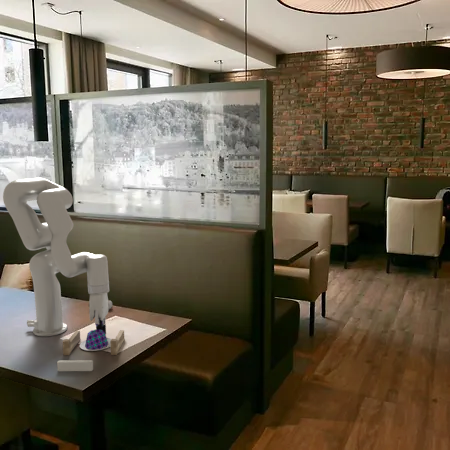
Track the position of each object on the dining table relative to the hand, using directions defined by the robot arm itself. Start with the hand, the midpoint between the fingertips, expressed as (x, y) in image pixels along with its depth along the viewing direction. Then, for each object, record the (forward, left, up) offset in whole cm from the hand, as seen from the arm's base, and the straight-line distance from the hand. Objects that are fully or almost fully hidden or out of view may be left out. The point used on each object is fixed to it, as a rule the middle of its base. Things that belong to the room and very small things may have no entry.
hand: (101, 335), depth 181 cm
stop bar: (-2, -26, -1) cm, 26 cm away
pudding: (0, -6, -2) cm, 6 cm away
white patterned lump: (-9, +33, -2) cm, 35 cm away
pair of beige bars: (0, -7, -1) cm, 7 cm away
